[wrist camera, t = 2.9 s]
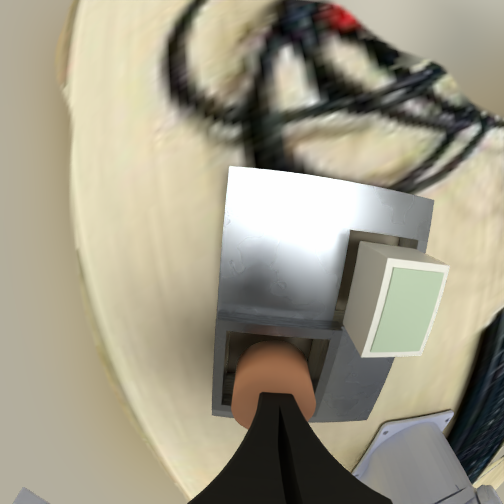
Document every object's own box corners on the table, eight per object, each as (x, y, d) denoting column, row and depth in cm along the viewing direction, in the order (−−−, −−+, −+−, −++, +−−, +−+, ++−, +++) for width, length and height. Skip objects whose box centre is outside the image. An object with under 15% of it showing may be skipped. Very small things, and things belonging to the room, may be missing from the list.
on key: (395, 325, 13) (422, 356, 10) (342, 322, 13) (361, 358, 10) (414, 248, 12) (451, 266, 9) (359, 241, 12) (389, 258, 9)
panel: (359, 401, 17) (370, 430, 14) (216, 394, 17) (209, 426, 14) (414, 197, 13) (445, 201, 11) (234, 168, 14) (226, 164, 11)
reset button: (299, 396, 14) (305, 435, 11) (234, 391, 14) (228, 430, 11) (313, 342, 13) (324, 380, 10) (239, 336, 13) (234, 374, 10)
